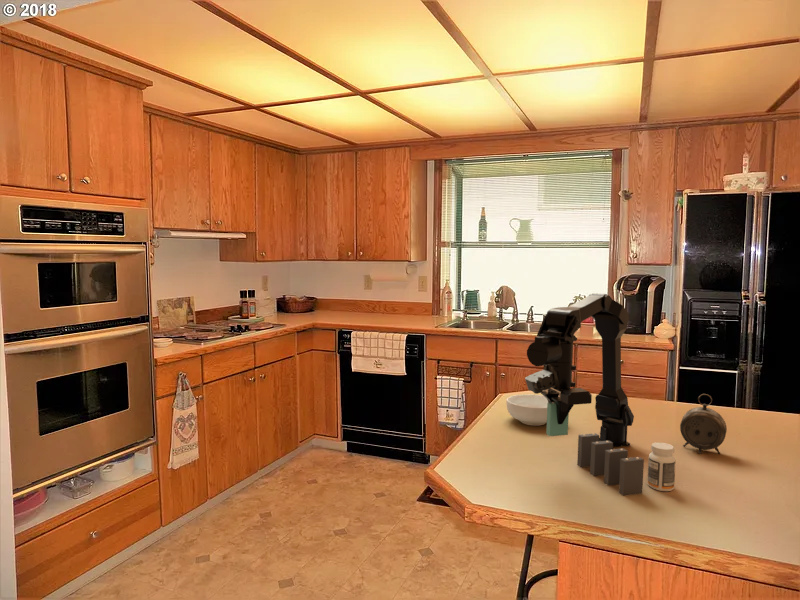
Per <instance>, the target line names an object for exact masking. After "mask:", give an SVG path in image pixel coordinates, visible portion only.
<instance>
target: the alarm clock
mask: <svg viewBox="0 0 800 600" xmlns="http://www.w3.org/2000/svg"><path fill="white" fill-rule="evenodd" d="M702 396H707V397H709V398H710V403H709V404H706V403H701V401H700V399H701V397H702ZM697 400H698V401H697V402H698V403H699V405H702V406H698V407H693V408H690V409H689V410H687V411H686V412H685V413H684V414H683V416H682V419H681V421H680V425H679V430H680V435H681V436H682V438H683V439H684V441H685V443H684V444H683V445H682V447H683V448H686V447H687V446H688V445H690V446H691V447H693V448H695V449H698V454H699V455H701V454H702V451H703V450H704V451H710V450H711V451H712V450H715V451H716V452H717V454H718V455H721V451H720V450H719V448H718V447H720V446H721V445H722V444H723V442H724V441H725V439H726V434H727V432H728V430H727V423H726V421H725V419H724V417H723V416H722V415H721V414H720V413H719V412H717V411H715V410H714V409H712V408H709V407H708V406H710V405H711V404H712V403H713V398H712V396H711V395H709V394H708V393H707V394H706V393H702V394H700V395H699V396H698V397H697Z"/></svg>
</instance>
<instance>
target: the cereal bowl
mask: <svg viewBox="0 0 800 600" xmlns="http://www.w3.org/2000/svg"><path fill="white" fill-rule="evenodd" d="M547 403H548V400H547V398H546V397H544V396H543V395H542V394H531V393H530V394H529V393H527V394H514V395H510V396H509V397H507V398H506V403H505V404H506V409H507V412H508V413H509V415H510V416H511V417H512V418H514V419H516V420H517V421H519V422H520V423H522V424H523V425H528V426H535V427H536V426H543V425H546V424H547Z"/></svg>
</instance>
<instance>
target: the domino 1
mask: <svg viewBox="0 0 800 600" xmlns="http://www.w3.org/2000/svg"><path fill="white" fill-rule="evenodd" d="M569 413H570V412H569ZM569 413H568V415H567V417H566V419H565V420H564V422H563V424H558V421H557V407H556V403H555V402H549V403H547V423H546V433H545V434H546V435H547V436H548V437H557V436H568V434H569Z"/></svg>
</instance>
